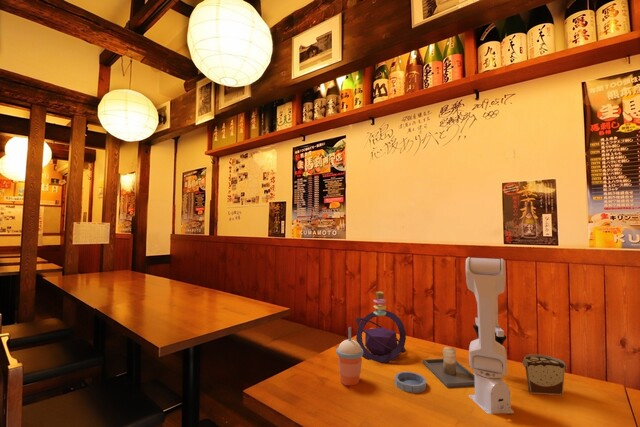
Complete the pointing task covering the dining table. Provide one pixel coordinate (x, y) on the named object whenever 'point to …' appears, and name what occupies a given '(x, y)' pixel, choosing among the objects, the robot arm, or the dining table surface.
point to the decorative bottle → (381, 335)
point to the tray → (458, 380)
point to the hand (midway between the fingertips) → (489, 350)
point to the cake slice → (544, 374)
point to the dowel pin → (449, 360)
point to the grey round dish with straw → (349, 361)
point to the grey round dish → (410, 382)
